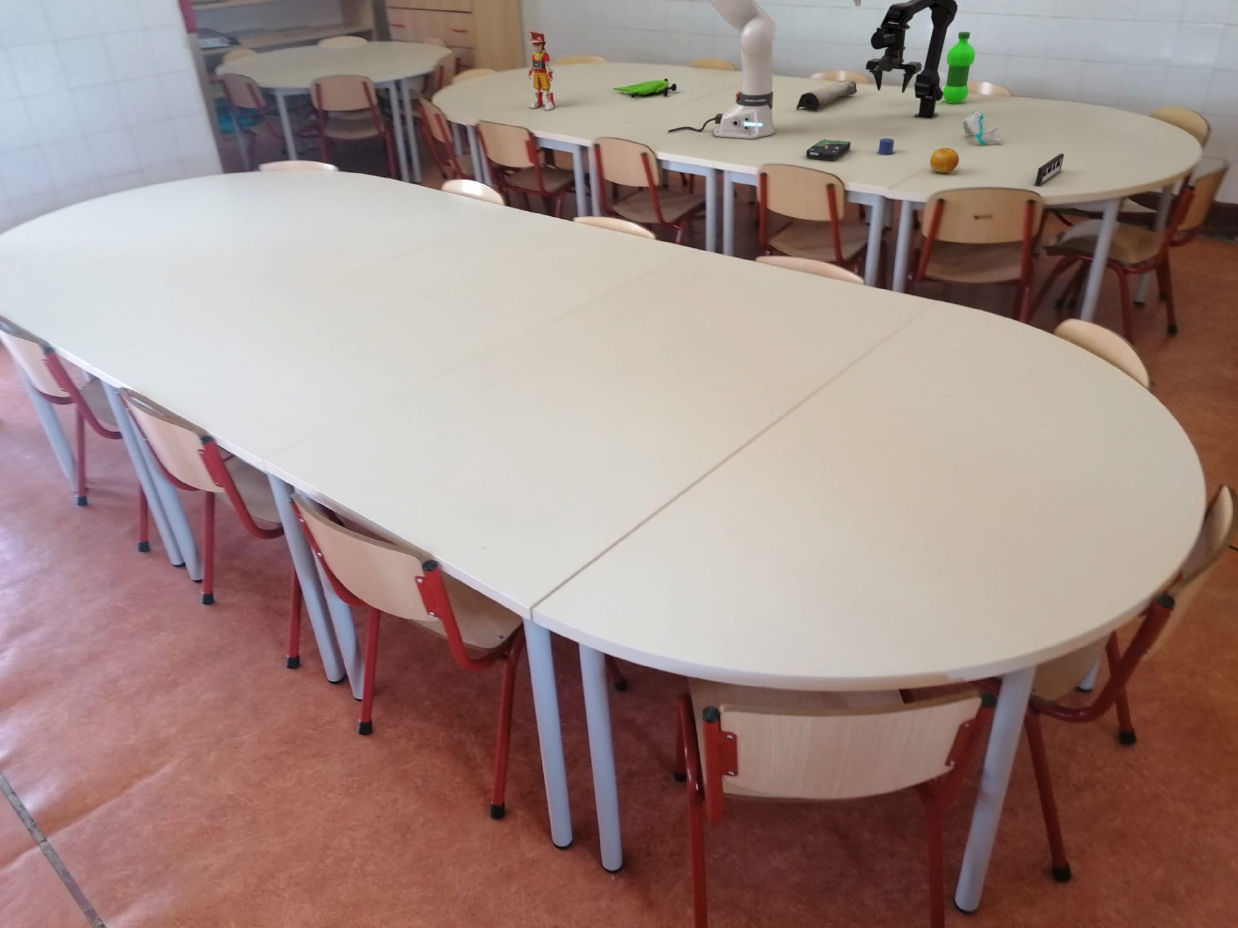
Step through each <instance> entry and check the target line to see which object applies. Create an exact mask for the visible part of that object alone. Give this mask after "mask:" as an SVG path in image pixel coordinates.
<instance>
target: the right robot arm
mask: <svg viewBox="0 0 1238 928" xmlns="http://www.w3.org/2000/svg"><path fill="white" fill-rule="evenodd" d="M958 7H959V5H958V4H957V1H956V0H908V1H905V2H898V3H893V4H891V5H890V6H889V7H888V10H887V11H886V13H885V15H884V18H883V19H882V22H881V23H880V25H879V27H876V29H875V30H876V31H875V32H873V33H872V36H871V37H870V45H871V47H872V48H873V49H874V50H876V51H879V50H882V49H885V50H884V53H883V55H882V56H881V57H880V58H872V59H870V60H867V61H866V64H865V70H866V71H867V70H868V73H871V74H872V76H873V77H874V80H875V85H876V89H877V91H881V88H882V82H883V74H884V72H887V73H890V72H892V71H893V70H903V71H904V73H902V76H903V80H902V85H901V86H902V87H901V94H904V93H905V91H906V89H907V88H908V86H909V83H910V81H911V80H912V78H913V77H914V75H916V76H915V81H914V84H913V86H914V96H915V99H920V100H919V106H918V113H915V114H914V117H918V118H926V119H932V118H935V117H936V116H938V112H935V111H936V105H937V102H940V101H941V100H942V99H943V90H942V88H941V86H940V83H941V82H940V81H941V78H940V77H941V76H940V75H939V67H940V62H941V58H942V53H943V48H944V45H945V41H946V37H947V31H948V29H949V26H950V25H951V24H952V23H953V22H954V21H955V18H956V14H957V12H958V10H959V9H958ZM926 8H928V9H929V10H930V11H931V14H930V20H931V23H932V26H933V27H932V31H931V34H930V35H931V36H930V40H929V44H928V48H927V53H926V58H925V61H924V66H923V65H922V63H921V62H920V61H909V62H907V63H904V62H905V59H904V51H906V46H905V41H906V31H907V30H910V29H911V26H910V25H909V24H908V23H909V22H910V21H911V20H913V18H914V16H915V15H916V14H917V13H919V12H922V11H924V10H925V9H926ZM922 67H923V70H922ZM919 72H920V73H919Z"/></svg>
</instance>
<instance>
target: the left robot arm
mask: <svg viewBox="0 0 1238 928" xmlns="http://www.w3.org/2000/svg"><path fill="white" fill-rule="evenodd" d="M852 1H853V2H854V6H855V7H860V6H861V5H862V0H852ZM708 2H710V4H711V5H712V6H713V7H714V9H715V10H716V11H717V12H718V13H719V15H720V16H721V17H722V19H723V20H724V21H725V22H727V23H728V24H730V25H731V26H732V27H733V28H734V29H735V30H736V31H737V32H738V33H739V34H740V58H741V59H740V60H741V62H740V63H741V90H737V91H736V92H735V103H734V104H733V105H732V106H730V107H729V108H727V110H726V111H724V113H716V115H715V116H714V117H713V118H712V117H711V118H710V119H708V120H706V121H705V122H704V123H703V125H702V127H701V128H694V127H692V126H680V127H676V128H671V129H668V130H667V131H668V133H672V132H676V131H681V130H691V131H695V132H702V131H704V130H705V128H706V126H707V124H708V123H711V122H713V121H714V124H715V125H717V126H715V128H714V130H713V135H714V136H715V137H721V138H722V137H723V138H736V139H737V138H738V139H750V140H753V139H754V140H755V139H758V138H761V137H766V136H770V135H773V134H774V133H775V132H776V131H775V127H774V120H773V107H774V91H773V77H774V76H773V75H774V67H773V66H774V64H773V63H774V61H773V45H774V44H773V43H774V39H775V37H776V35H777V34H776V33H777V27H776V23H775V21H774V19H773V17H771V16H770V15H769V13H767V11H765V10H764V9H763V8H762V7H761V5H760V4H758V2H757V1H756V0H708Z"/></svg>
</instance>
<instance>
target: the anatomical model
mask: <svg viewBox="0 0 1238 928" xmlns="http://www.w3.org/2000/svg"><path fill="white" fill-rule="evenodd" d="M984 117H985V116H984V114H981V112H979V111H977V110H974V111H972V114H971V116H968V117H964V119H963V120H962V125H963V129H964V133H965V134H966V135H969V136H973V135H974V136H975V138H976V140H977V142H978V143H979V144H980V145H982V146H985V145H988V144H991V143H992V144H993V143H997V144H998V143H1001V142H1002V141H1003V139H1002V138H998V137H996V136H995V133H996V132H997V131H998V130H999V127H996V126H995V127H993V128H991V129H989V130H988V129H987V128H985V126H984V122H985V121H986V120H985V118H984Z"/></svg>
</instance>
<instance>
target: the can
mask: <svg viewBox="0 0 1238 928" xmlns="http://www.w3.org/2000/svg"><path fill="white" fill-rule="evenodd" d="M894 144H895V140H894V139H893V138H886V137H885V138H880V139H879V144H878V145H879V146H878V154H880V155H885V156H886V155H887V156H888V155H892V154H893V153H894Z"/></svg>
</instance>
